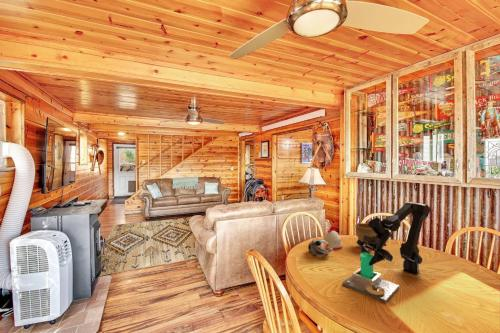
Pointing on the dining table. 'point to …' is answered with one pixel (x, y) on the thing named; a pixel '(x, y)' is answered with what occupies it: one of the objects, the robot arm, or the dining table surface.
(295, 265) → the dining table surface
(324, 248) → the lucky cat figurine
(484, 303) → the dining table surface
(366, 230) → the plant pot
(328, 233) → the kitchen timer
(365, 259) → the candle
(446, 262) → the dining table surface
